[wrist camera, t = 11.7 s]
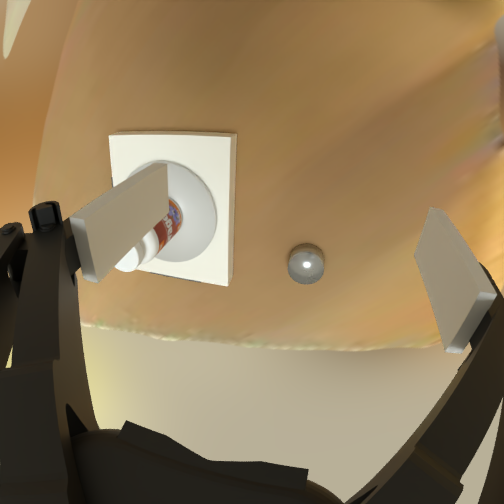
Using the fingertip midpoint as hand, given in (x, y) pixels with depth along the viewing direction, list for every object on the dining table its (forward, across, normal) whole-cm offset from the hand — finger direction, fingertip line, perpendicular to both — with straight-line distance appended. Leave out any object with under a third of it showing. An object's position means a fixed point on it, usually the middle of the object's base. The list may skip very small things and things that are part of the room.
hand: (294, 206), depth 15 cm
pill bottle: (+22, -18, -13) cm, 31 cm away
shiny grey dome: (+26, +2, -19) cm, 32 cm away
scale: (+26, -18, -13) cm, 34 cm away
